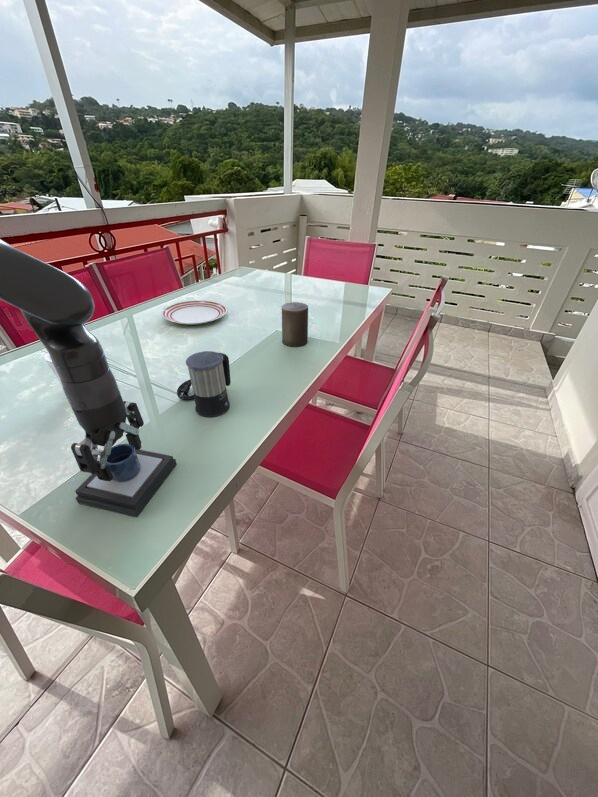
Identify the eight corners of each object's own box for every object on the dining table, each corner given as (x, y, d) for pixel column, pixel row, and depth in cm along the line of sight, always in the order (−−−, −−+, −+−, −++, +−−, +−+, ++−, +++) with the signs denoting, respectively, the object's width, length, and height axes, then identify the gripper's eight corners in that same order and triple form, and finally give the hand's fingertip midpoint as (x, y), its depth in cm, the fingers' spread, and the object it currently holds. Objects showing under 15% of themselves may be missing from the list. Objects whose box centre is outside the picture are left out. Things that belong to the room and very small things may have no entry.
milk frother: (226, 418, 86) (219, 368, 78) (166, 417, 86) (152, 367, 78) (235, 388, 98) (230, 342, 89) (182, 387, 98) (172, 341, 89)
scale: (137, 517, 61) (132, 507, 60) (78, 503, 64) (72, 493, 62) (177, 464, 72) (174, 454, 71) (125, 453, 75) (121, 444, 73)
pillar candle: (308, 347, 121) (309, 307, 113) (282, 347, 121) (281, 307, 112) (306, 336, 129) (307, 298, 121) (281, 336, 129) (280, 298, 120)
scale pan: (134, 500, 62) (132, 496, 61) (89, 490, 64) (86, 485, 63) (164, 463, 70) (162, 458, 69) (123, 455, 72) (121, 450, 71)
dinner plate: (238, 310, 152) (237, 303, 150) (207, 333, 130) (206, 325, 128) (186, 303, 159) (185, 296, 157) (149, 324, 137) (147, 316, 135)
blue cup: (129, 485, 63) (121, 467, 61) (103, 479, 64) (95, 461, 62) (147, 464, 68) (140, 446, 65) (123, 459, 69) (115, 441, 66)
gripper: (105, 371, 62) (129, 436, 71) (39, 416, 51) (78, 487, 60) (140, 377, 61) (160, 442, 70) (81, 424, 49) (114, 495, 58)
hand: (122, 463), depth 65 cm, fingers open, 8 cm apart
